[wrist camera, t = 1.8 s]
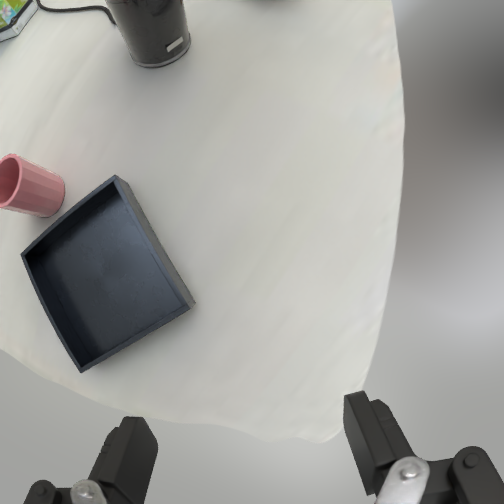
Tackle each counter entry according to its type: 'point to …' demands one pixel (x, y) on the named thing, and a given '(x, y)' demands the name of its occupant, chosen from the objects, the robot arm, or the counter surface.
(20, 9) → the tea box
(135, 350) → the counter surface
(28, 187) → the cup
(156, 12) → the robot arm
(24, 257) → the dark grey storage tray
